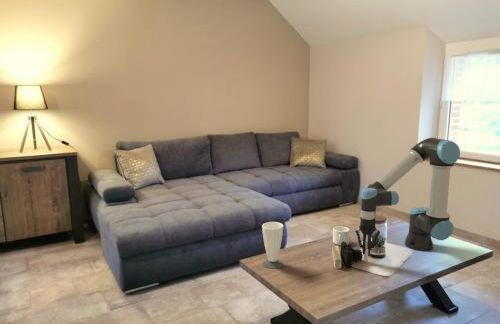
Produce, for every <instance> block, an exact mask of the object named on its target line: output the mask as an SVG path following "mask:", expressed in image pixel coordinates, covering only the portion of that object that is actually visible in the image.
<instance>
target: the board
mask: <svg viewBox="0 0 500 324" xmlns="http://www.w3.org/2000/svg"><path fill="white" fill-rule="evenodd" d="M331 248H332V249H331V254H332V259H333V265H334V269H336V270H337V269H340V270H341V269H342V260H341V256H340V249H339V245H332V246H331Z"/></svg>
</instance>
